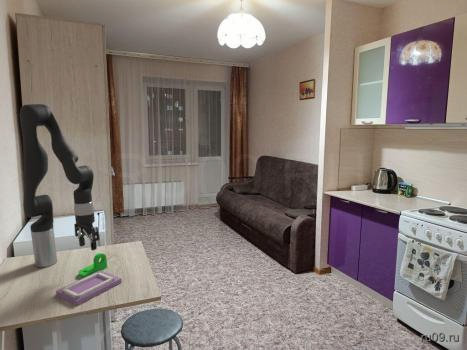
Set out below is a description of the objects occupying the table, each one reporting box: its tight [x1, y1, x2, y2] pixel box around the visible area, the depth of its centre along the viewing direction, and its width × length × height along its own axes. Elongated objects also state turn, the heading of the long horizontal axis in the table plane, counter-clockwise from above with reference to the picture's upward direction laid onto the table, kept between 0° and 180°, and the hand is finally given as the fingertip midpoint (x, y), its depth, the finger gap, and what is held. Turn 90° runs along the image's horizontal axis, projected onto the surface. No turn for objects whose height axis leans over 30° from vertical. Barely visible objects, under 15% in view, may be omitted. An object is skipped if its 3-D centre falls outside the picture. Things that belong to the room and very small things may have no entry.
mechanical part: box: [77, 252, 108, 279], centre depth 146 cm, size 12×6×8 cm, turn 152°
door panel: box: [55, 270, 123, 306], centre depth 132 cm, size 14×20×3 cm
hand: (88, 247), depth 142 cm, fingers open, 8 cm apart
